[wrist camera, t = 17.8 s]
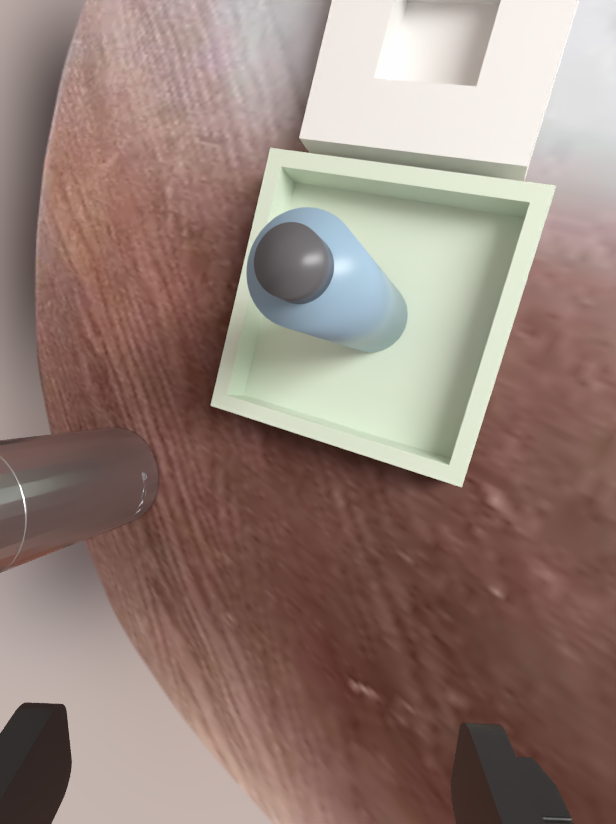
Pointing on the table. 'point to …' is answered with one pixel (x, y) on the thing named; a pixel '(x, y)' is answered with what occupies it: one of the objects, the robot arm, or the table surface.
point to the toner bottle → (323, 282)
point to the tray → (426, 304)
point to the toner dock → (437, 82)
